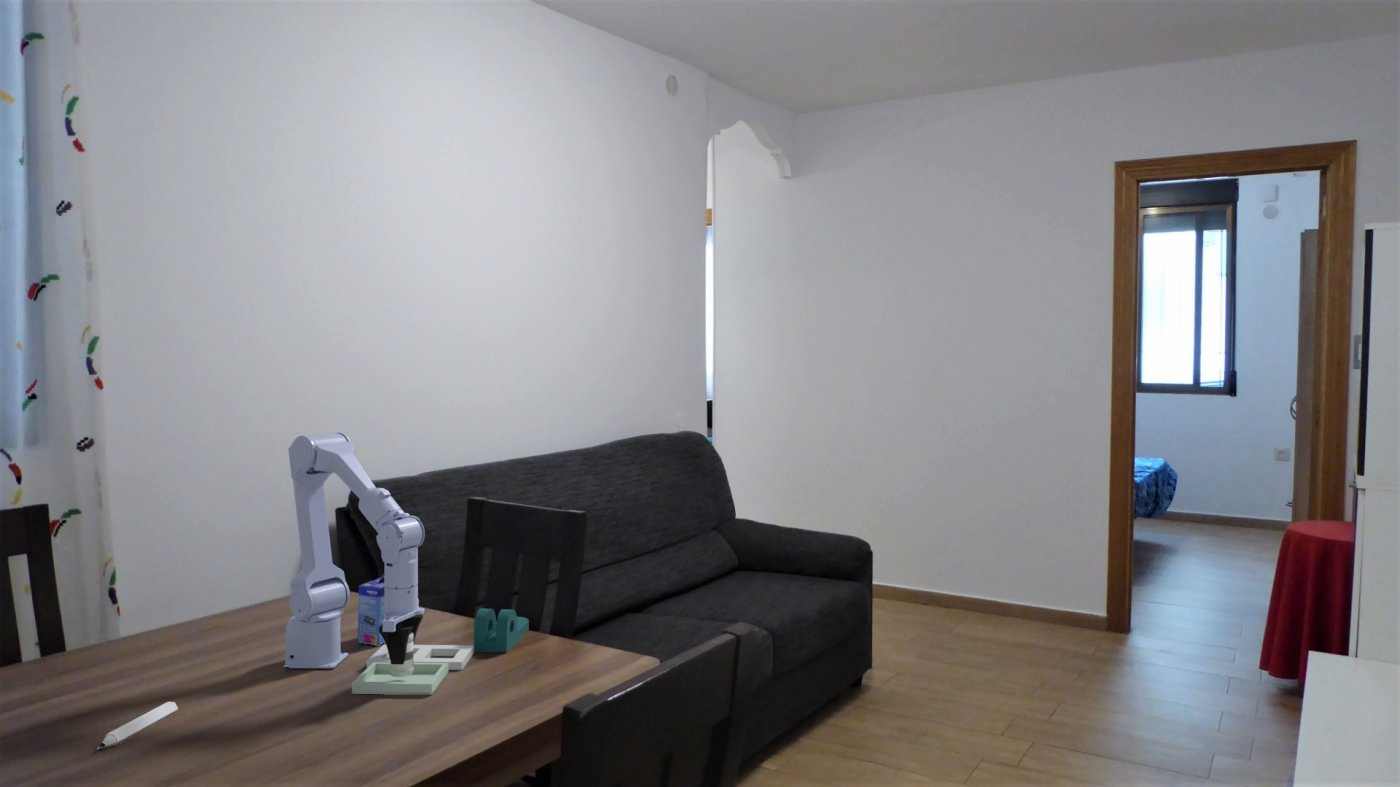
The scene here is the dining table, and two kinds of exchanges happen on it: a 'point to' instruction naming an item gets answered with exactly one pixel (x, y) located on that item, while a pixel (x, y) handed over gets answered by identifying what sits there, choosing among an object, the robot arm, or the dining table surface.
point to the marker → (139, 723)
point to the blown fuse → (408, 665)
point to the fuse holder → (427, 651)
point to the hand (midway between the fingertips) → (401, 659)
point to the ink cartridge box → (371, 611)
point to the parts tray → (400, 680)
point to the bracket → (498, 630)
